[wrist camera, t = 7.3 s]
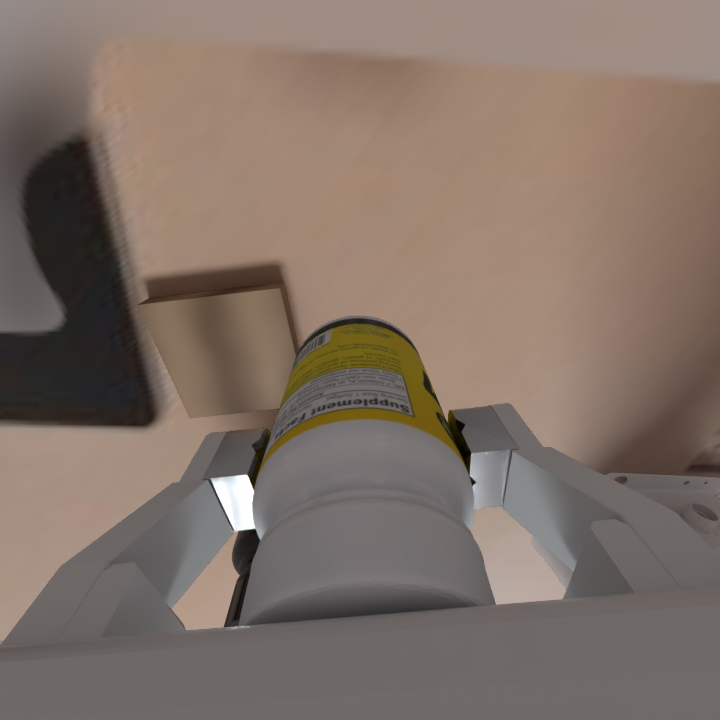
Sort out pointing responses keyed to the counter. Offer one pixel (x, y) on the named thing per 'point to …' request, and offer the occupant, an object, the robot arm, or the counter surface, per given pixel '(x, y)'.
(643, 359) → the counter surface
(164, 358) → the tan slab
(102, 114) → the counter surface
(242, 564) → the ink bottle
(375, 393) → the supplement bottle
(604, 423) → the counter surface
